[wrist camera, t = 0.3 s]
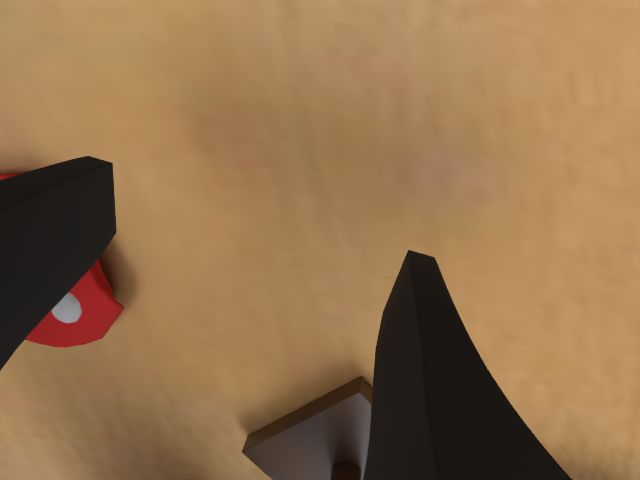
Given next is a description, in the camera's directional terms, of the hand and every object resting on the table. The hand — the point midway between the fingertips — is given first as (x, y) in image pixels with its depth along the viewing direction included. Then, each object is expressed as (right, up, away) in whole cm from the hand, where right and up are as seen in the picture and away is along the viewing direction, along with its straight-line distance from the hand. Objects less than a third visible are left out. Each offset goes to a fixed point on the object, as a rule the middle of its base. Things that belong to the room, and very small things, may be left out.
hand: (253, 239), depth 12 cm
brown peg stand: (+3, -13, +18) cm, 22 cm away
